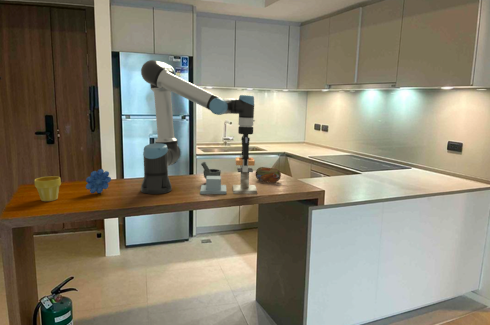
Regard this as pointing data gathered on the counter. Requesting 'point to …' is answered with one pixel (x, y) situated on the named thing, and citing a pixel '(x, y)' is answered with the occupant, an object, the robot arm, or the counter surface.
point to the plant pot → (48, 187)
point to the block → (213, 186)
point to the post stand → (244, 183)
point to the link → (240, 161)
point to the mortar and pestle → (210, 171)
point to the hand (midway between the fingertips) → (244, 169)
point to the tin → (268, 174)
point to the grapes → (98, 181)
